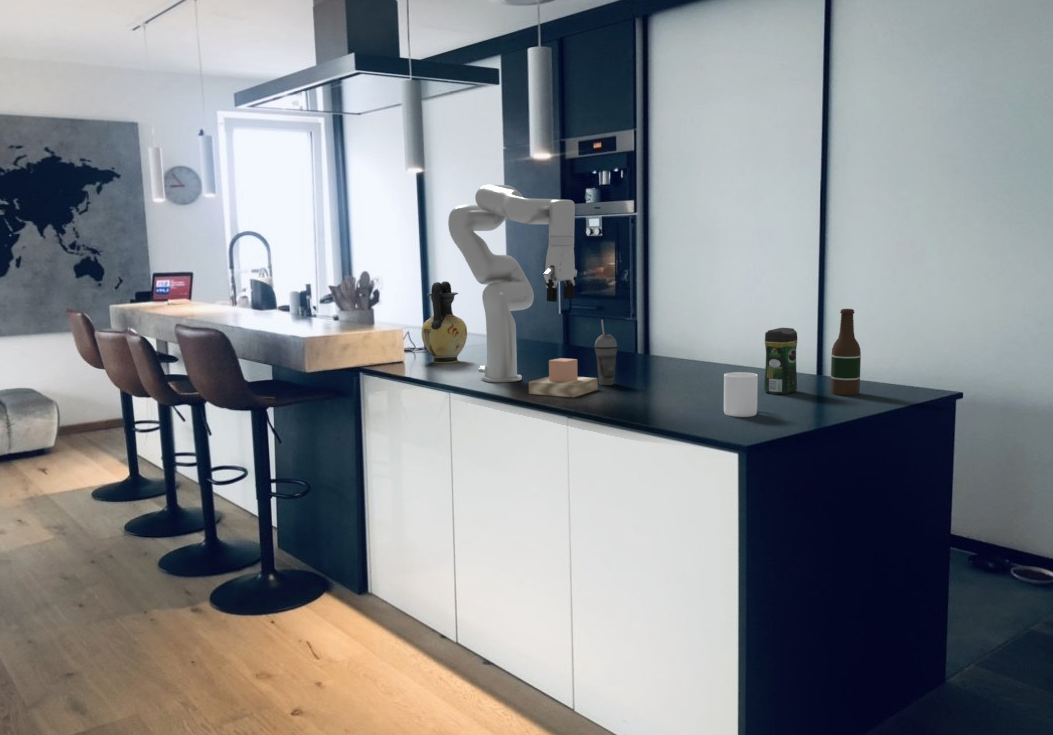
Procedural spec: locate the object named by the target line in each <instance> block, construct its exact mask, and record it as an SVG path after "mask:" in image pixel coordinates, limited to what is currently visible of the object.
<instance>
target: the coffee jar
mask: <svg viewBox="0 0 1053 735" xmlns="http://www.w3.org/2000/svg"><path fill="white" fill-rule="evenodd" d="M764 345H765V346H764V347H765V366H764V367H765V370H764V382H763V383H764V386H763V390H764V392H766V393H769V394H774V395H777V394H783V395H785V394H790V393H794V392H796V391H797V390H798V375H797V349H798V348H797V346H798V331H796V330H795V328H792V327H778V328H774V329H769V330H767V331H766V332H765V334H764Z"/></svg>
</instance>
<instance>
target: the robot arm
mask: <svg viewBox="0 0 1053 735" xmlns="http://www.w3.org/2000/svg"><path fill="white" fill-rule="evenodd" d="M474 198H475V202H476V204H462V205H458V206H456V207H454V208H453V209H452V210H451V211H450V212H449V216H448V220H447V221H448V222H447V223H448V231H449V235H450V237H451V239H452V240H453V242H454V244H455V245H456V247H457V248H458V250H459V251H460V253H461V254H462V256H463V257H464V258H463V259H464V260H465V261H466V263H467V265H468V267H469V269H470V271H471V273H472V274H473V276H474V278H475V280H476V281H477V282H478V283H479V284H481V285H483V286H484V285H486V286H485V287H484V289H483V291H482V298H481V299H482V304H483V308H484V309H483V310H484V313H485V314H484V316H485V324H486V326H485V328H486V329H485V330H486V360H487V361H486V362H487V365H480V366H479V368H478V370H477V371H478V373H484V375H483V376H482V380H483V381H484V382H488V383H513V382H519V381H521V380H522V379H523V378H522V377H523V376H522V375H521V374H518V365H517V364H518V363H517V362H518V360H517V325H516V321H515V318H514V317H513V314H512V313H511V312H515V311H522V310H527V309H529V308H530V307H531V306H532V305H533V303H534V299H535V294H534V290H533V287H532V285H531V282H530V281H529V278H528V277H527V276H526V274H525V272H524V271H523V269H522V267H521V265H520V263H519V262H518V261H517V260H516V259H515V258H514V257H513V256H510V255H508V254H494V253H493V252H492V251H491V249H490V248H489V246H488V244H487V242H486V241H485V240H484V238H482V237H481V236H479V235H478V233H475V232H490V231H494V230H496V229H498V228H499V227H500V226H502V224H503V223H504V222H505V221H506V220H507V219H508V220H509V221H512V222H516V223H519V224H523V225H548V247H547V251H546V257H545V269H544V273H543V277H544V283H545V288H546V301H547V302H555V303H556V302H557V301H558V287H557V286H558V283H559V282H564V284H565V285H563V299H565V300H574V299H575V285H576V280H577V274H578V270H577V269H576V267H575V266H576V265H575V259H576V258H575V249H574V248H575V223H576V222H575V214H576V213H575V212H576V208H575V205H576V204H575V202H574V201H573V200H571V199H552V198H526V197H523V194H522V193H521V192H520V191H518V190H517V189H516V188H515V187H514V186H511V185H507V184H485V185H483V186H481V187H480V188H478V190H477V191H476V193H475V197H474Z"/></svg>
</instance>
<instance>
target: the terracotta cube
mask: <svg viewBox="0 0 1053 735" xmlns="http://www.w3.org/2000/svg"><path fill="white" fill-rule="evenodd" d="M548 374H549V375H548V377H549V380H550V381H560V382H568V381H573V380H577V377H578V359H576V358H575V359H574V358H565V357H563V358H562V357H560V358H559V357H558V358H554V359H549V360H548Z"/></svg>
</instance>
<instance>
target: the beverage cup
mask: <svg viewBox="0 0 1053 735" xmlns="http://www.w3.org/2000/svg"><path fill="white" fill-rule="evenodd" d="M600 321H601V330H602V334H600V335H599V336H598V337H597V338H596V340H595V343H594V347H593V348H594V352H595V355H596V358H595V359H596V368H597V377H598V385H602V386H612V385H614V383H615V382H614V380H615V370H616V361H617V360H616V358H617V352H618V343H617V340H616V339H615V337H614V336H613V335H612V334H608V333H605V328H604V327H605V326H604V320H603V319H601V320H600Z"/></svg>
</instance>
